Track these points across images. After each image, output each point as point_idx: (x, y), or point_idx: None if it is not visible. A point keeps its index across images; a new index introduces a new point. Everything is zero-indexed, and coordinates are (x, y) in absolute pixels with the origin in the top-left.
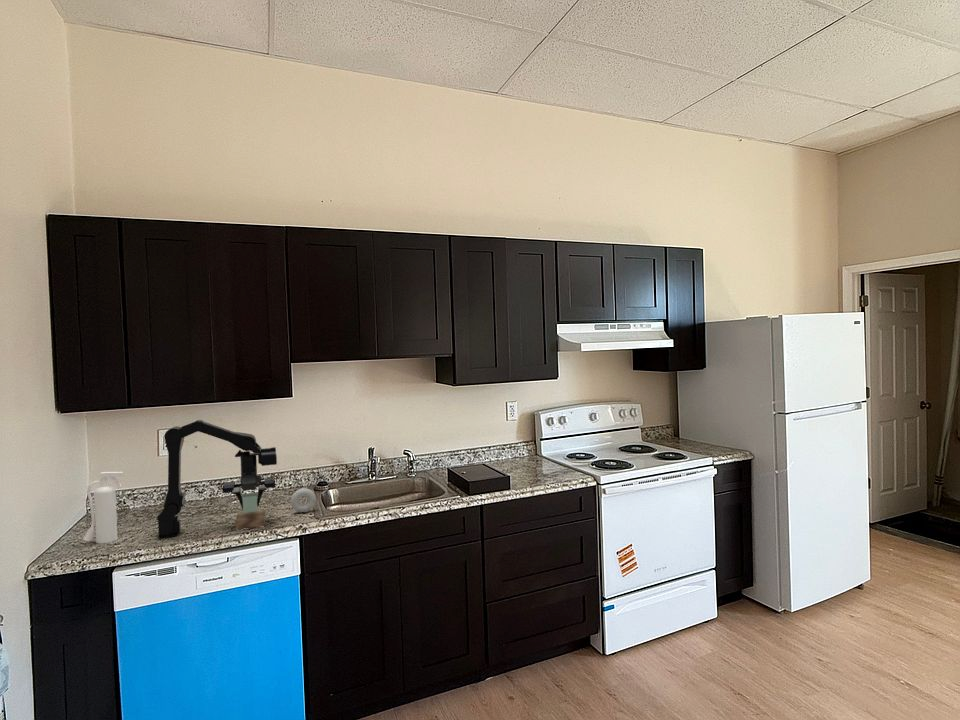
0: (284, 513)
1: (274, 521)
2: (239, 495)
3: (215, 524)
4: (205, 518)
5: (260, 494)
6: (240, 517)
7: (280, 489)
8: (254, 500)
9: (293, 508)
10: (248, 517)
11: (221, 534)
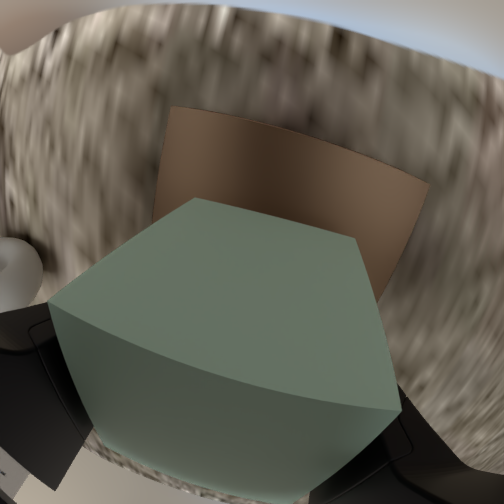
0: None
1: (131, 192)
2: (431, 475)
3: (427, 367)
4: None
5: (16, 321)
6: (362, 257)
7: (142, 473)
8: (150, 264)
9: (37, 269)
10: (300, 200)
11: (485, 155)
